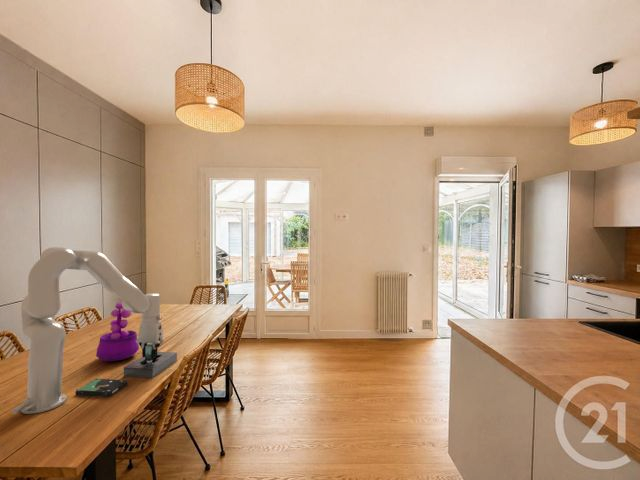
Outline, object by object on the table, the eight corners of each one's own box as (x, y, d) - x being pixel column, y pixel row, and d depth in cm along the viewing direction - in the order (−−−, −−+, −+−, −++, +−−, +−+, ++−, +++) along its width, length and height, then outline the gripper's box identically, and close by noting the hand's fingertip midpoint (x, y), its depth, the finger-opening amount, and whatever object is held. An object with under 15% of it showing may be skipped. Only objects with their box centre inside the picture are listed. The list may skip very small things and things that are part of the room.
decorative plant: (134, 349, 167) (136, 297, 167) (142, 358, 153) (144, 302, 154) (93, 357, 153) (95, 301, 154) (98, 369, 140) (100, 307, 141)
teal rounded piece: (150, 371, 138) (151, 346, 138) (140, 370, 139) (141, 346, 139) (157, 367, 143) (158, 343, 143) (147, 366, 144) (148, 342, 144)
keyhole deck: (152, 378, 132) (152, 368, 133) (123, 376, 133) (123, 367, 133) (176, 360, 152) (177, 352, 152) (151, 359, 153) (151, 351, 153)
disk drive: (128, 386, 126) (95, 384, 126) (128, 380, 126) (95, 377, 126) (109, 399, 115) (74, 396, 116) (109, 392, 115) (74, 389, 116)
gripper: (171, 317, 144) (170, 354, 144) (139, 316, 145) (138, 352, 145) (162, 321, 137) (161, 360, 137) (129, 320, 138) (127, 358, 138)
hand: (149, 356), depth 141 cm, fingers closed on teal rounded piece, 4 cm apart
